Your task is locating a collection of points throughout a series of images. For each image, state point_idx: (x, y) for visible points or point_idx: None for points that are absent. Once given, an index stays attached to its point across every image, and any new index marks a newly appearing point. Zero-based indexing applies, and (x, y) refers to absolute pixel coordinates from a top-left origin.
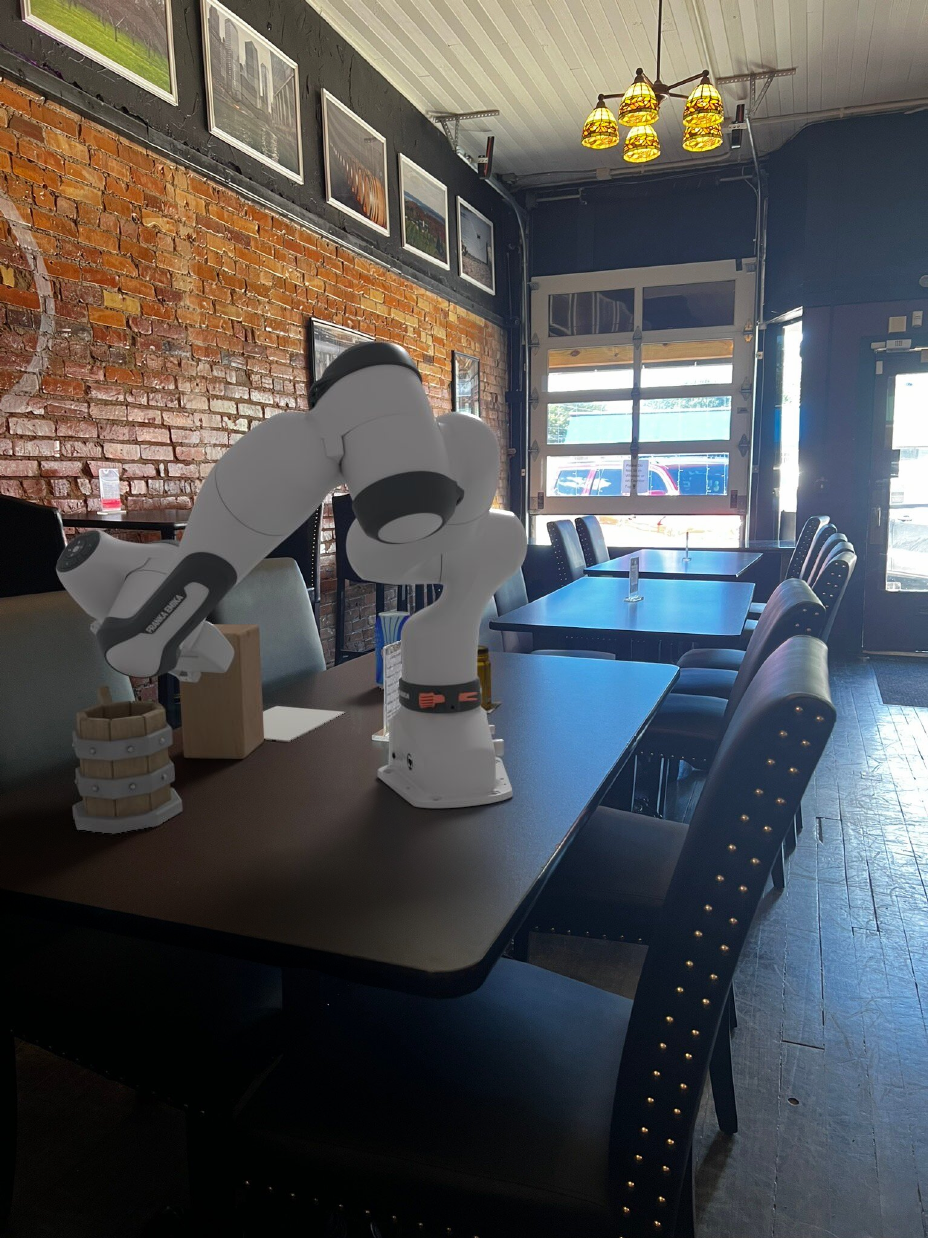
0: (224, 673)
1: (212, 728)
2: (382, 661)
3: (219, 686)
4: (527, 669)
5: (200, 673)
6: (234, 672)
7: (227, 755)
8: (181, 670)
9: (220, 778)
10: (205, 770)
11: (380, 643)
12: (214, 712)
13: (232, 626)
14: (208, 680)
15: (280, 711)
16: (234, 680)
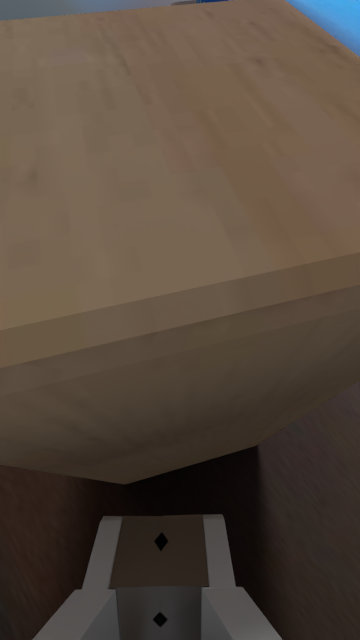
0: (289, 403)
1: (197, 457)
2: None
3: (247, 425)
4: (315, 21)
5: (222, 519)
6: (341, 388)
7: (225, 454)
8: (117, 620)
9: (312, 608)
10: (230, 555)
11: (219, 1)
12: (209, 448)
13: (194, 39)
14: (203, 434)
15: None
16: (321, 400)
